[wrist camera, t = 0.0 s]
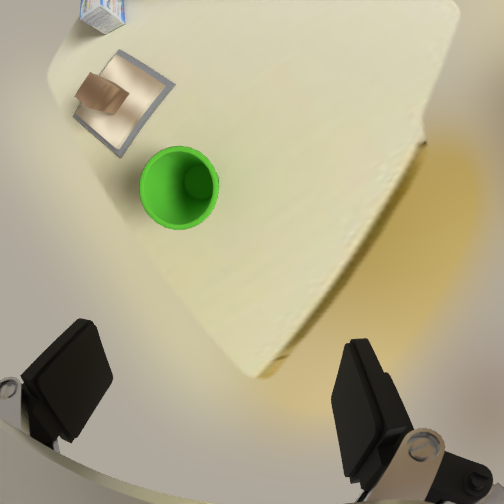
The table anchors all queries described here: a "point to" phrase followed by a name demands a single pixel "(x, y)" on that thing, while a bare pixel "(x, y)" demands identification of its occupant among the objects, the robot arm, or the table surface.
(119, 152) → the mat
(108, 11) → the medicine box
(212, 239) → the table surface
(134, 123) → the lid
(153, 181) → the cup
